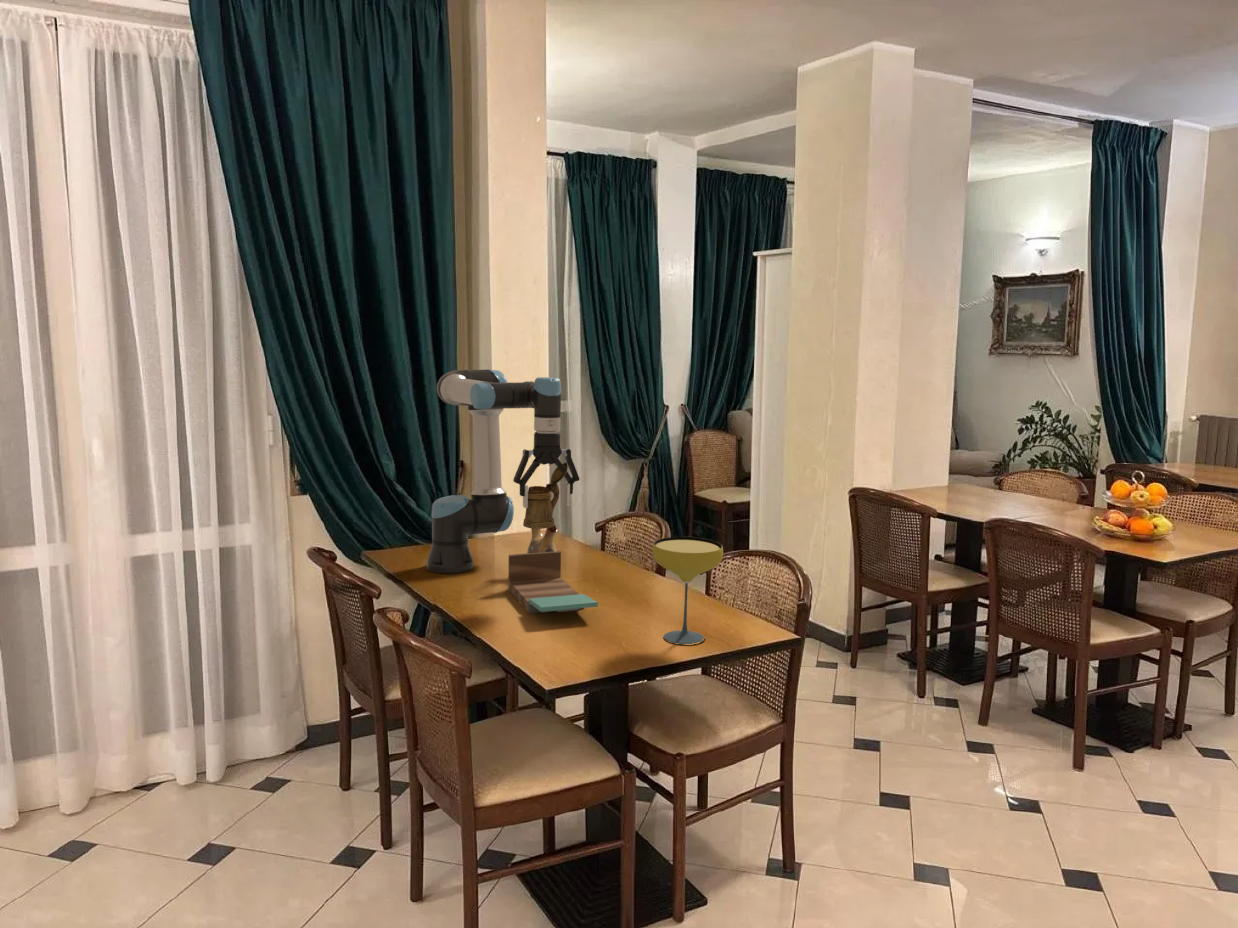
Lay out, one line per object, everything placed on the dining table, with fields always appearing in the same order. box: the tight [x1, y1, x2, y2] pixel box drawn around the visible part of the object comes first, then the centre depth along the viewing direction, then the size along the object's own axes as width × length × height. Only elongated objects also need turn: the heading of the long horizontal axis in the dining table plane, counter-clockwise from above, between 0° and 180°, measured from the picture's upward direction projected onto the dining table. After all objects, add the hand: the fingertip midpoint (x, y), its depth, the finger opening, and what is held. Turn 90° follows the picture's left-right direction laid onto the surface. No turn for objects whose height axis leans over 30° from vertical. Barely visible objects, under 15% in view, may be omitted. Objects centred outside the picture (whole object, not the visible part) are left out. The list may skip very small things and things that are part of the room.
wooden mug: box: [522, 462, 568, 530], centre depth 261 cm, size 9×14×18 cm, turn 121°
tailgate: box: [529, 593, 599, 613], centre depth 249 cm, size 2×16×12 cm
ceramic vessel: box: [526, 523, 558, 553], centre depth 288 cm, size 16×9×25 cm, turn 31°
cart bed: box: [508, 550, 585, 615], centre depth 265 cm, size 24×16×11 cm
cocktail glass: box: [651, 536, 724, 644], centre depth 234 cm, size 18×18×25 cm
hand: (546, 506), depth 262 cm, fingers open, 12 cm apart
